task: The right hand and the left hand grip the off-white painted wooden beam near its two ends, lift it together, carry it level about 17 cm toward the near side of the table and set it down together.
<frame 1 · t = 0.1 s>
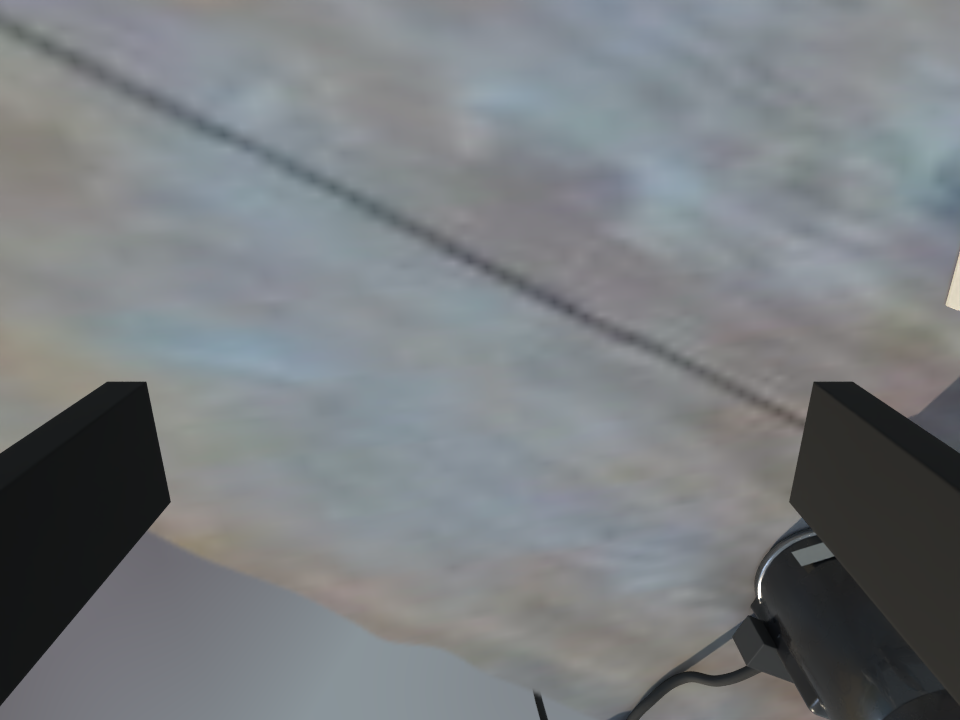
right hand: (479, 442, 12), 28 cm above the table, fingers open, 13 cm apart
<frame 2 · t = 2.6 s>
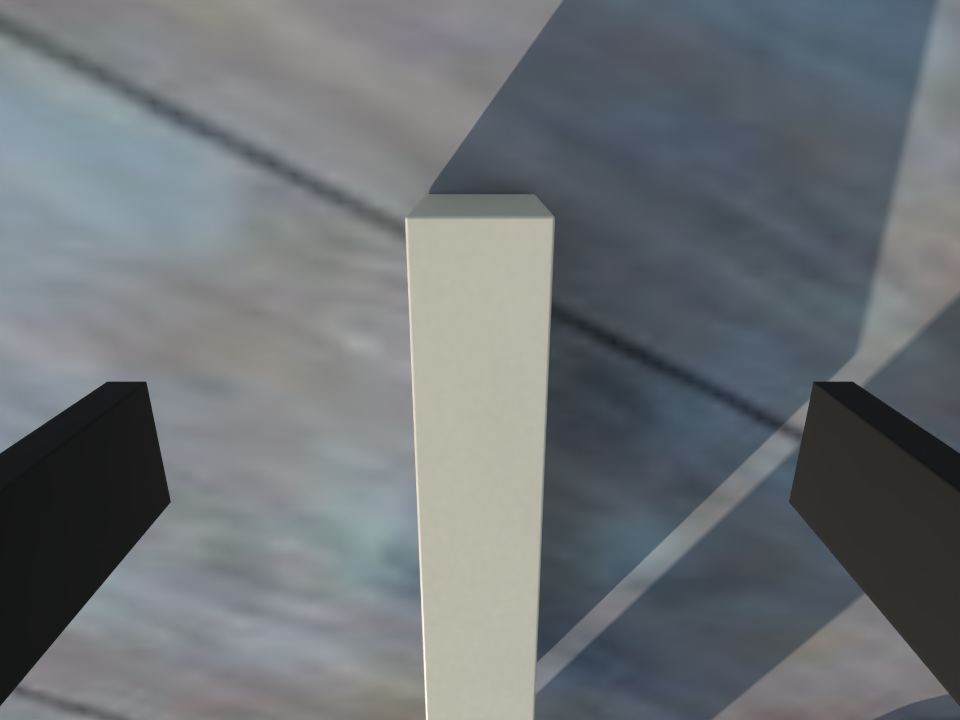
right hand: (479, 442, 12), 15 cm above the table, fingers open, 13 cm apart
beam: (480, 474, 29), on the table
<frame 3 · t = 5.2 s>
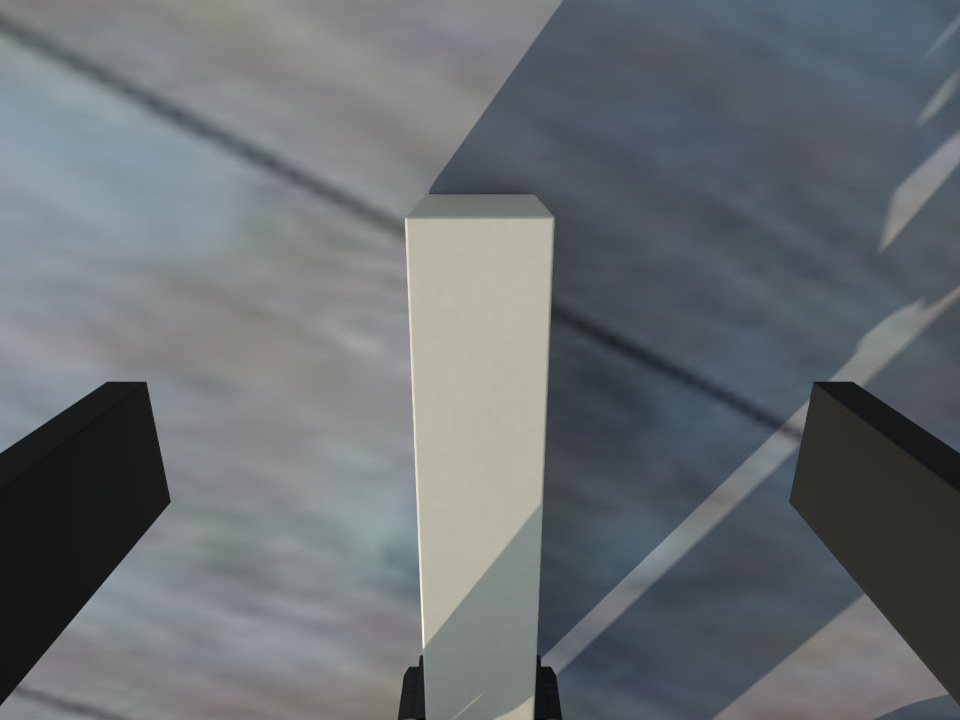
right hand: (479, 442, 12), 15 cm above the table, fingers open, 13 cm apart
beam: (480, 474, 29), on the table, touching left hand
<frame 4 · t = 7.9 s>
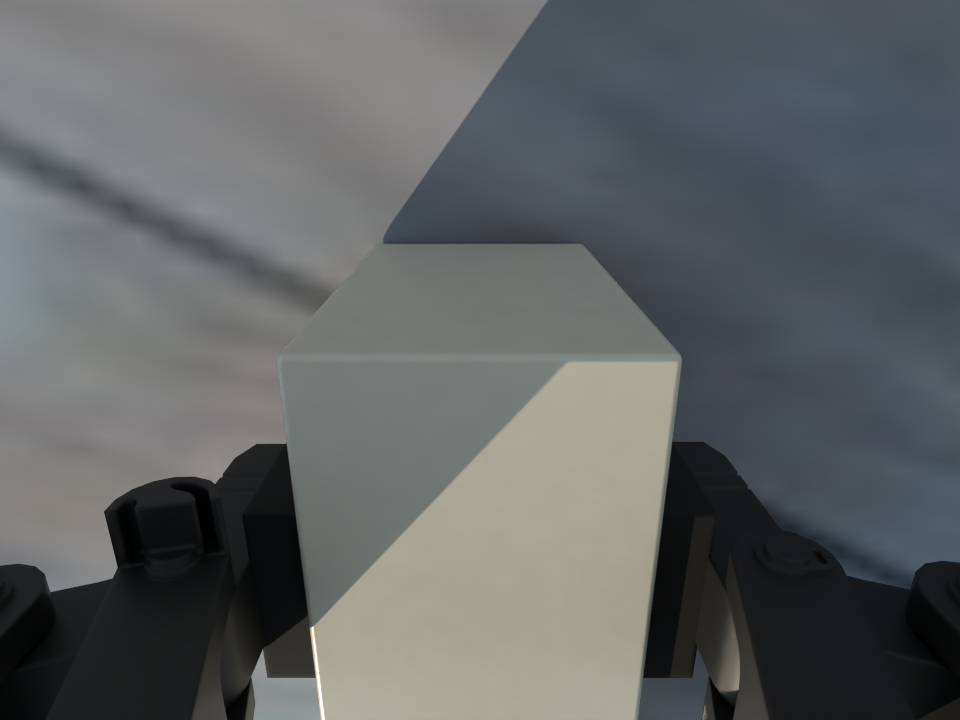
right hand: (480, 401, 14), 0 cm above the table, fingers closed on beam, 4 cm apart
beam: (479, 693, 18), on the table, touching right hand, left hand
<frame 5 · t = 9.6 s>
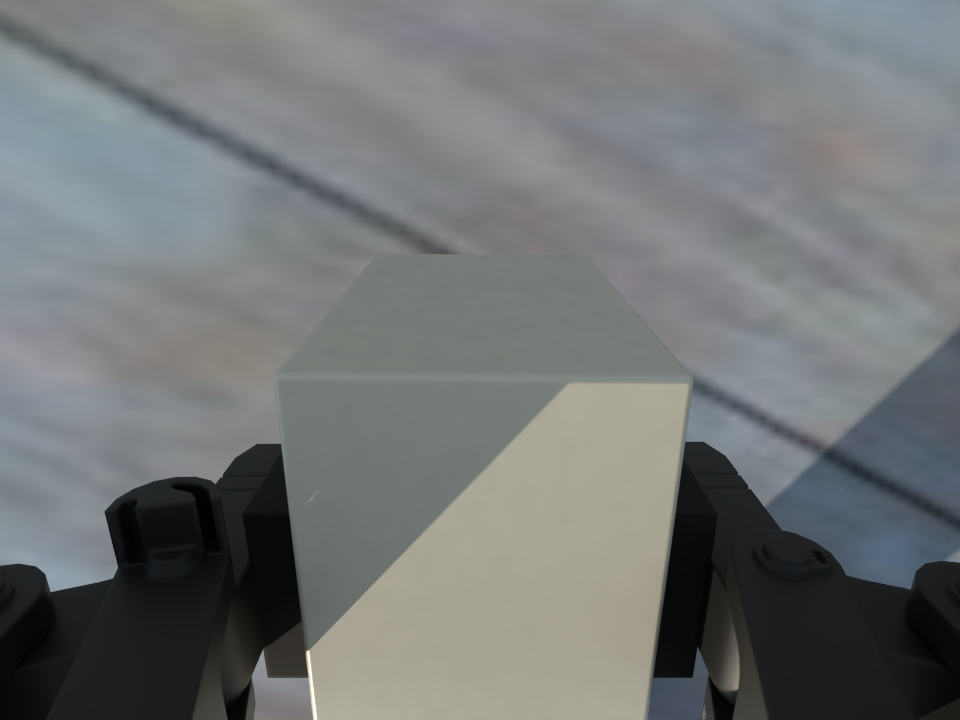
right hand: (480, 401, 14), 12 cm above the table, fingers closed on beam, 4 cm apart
beam: (478, 709, 18), point 12 cm above the table, touching right hand, left hand
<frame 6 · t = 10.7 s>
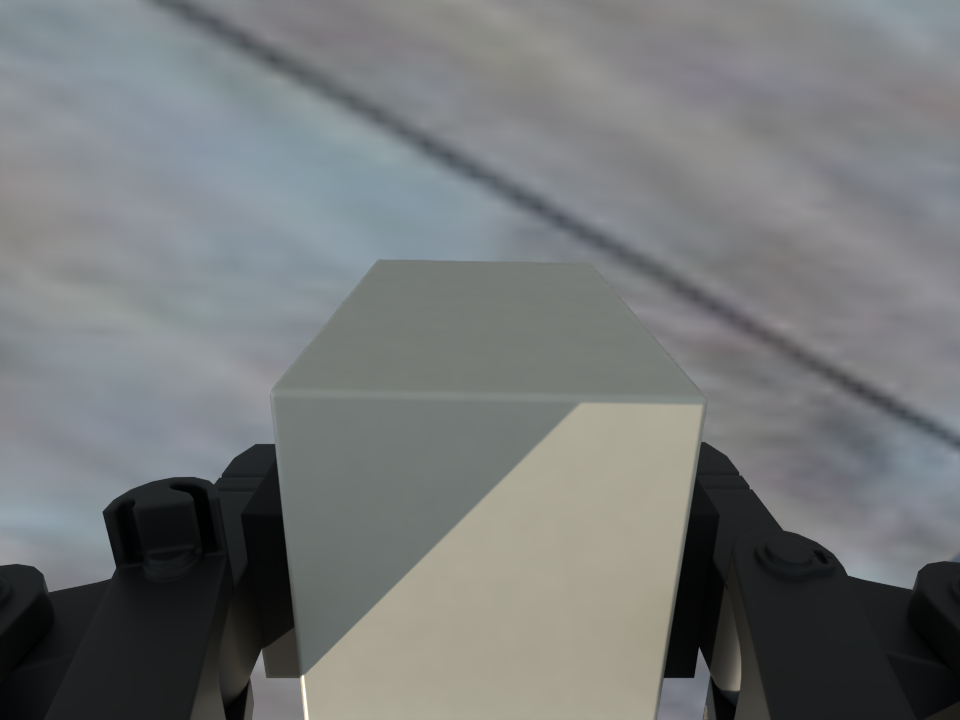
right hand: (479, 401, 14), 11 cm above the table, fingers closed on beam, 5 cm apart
when the right hand's fingers open (1 cm above the table, at t = 13.9 s): beam stays where it is, on the table.
when the left hand's fingers open (3 cm above the table, at t = 14.0 s): beam stays where it is, on the table.
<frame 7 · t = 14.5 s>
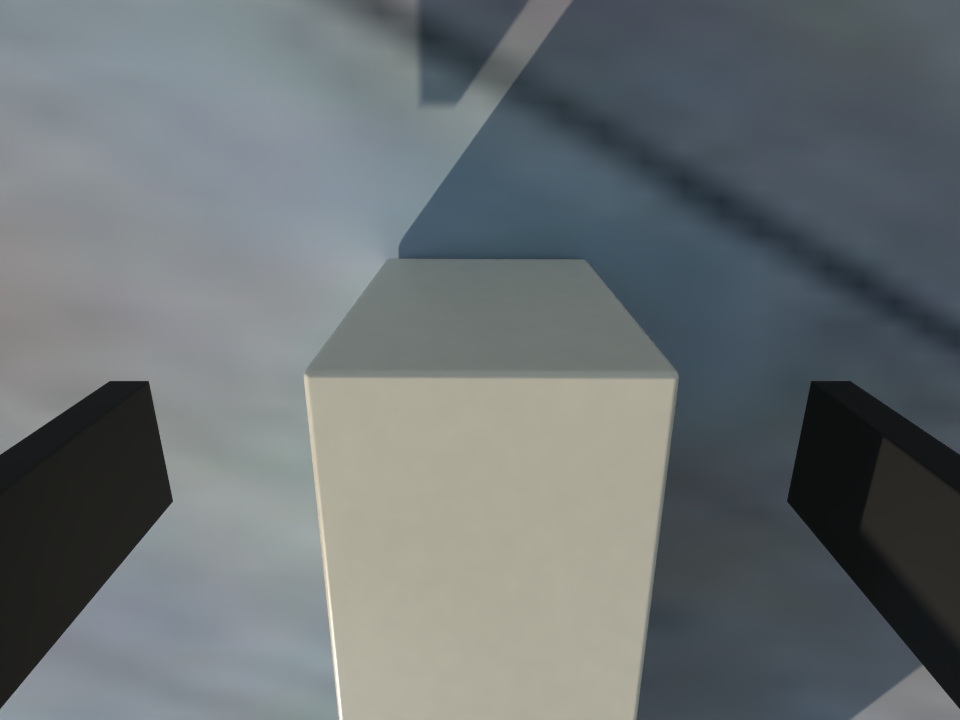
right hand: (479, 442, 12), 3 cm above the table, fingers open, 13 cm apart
beam: (483, 692, 18), on the table
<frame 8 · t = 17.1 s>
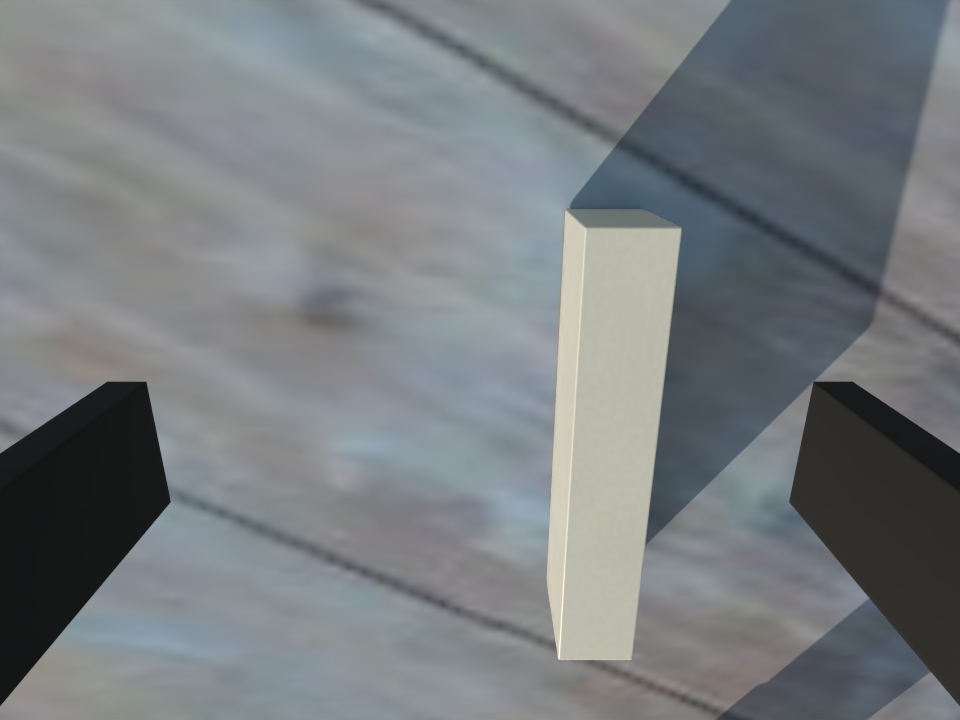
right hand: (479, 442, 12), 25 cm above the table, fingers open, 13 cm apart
beam: (590, 416, 39), on the table
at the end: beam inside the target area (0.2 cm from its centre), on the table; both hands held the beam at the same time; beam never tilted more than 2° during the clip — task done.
